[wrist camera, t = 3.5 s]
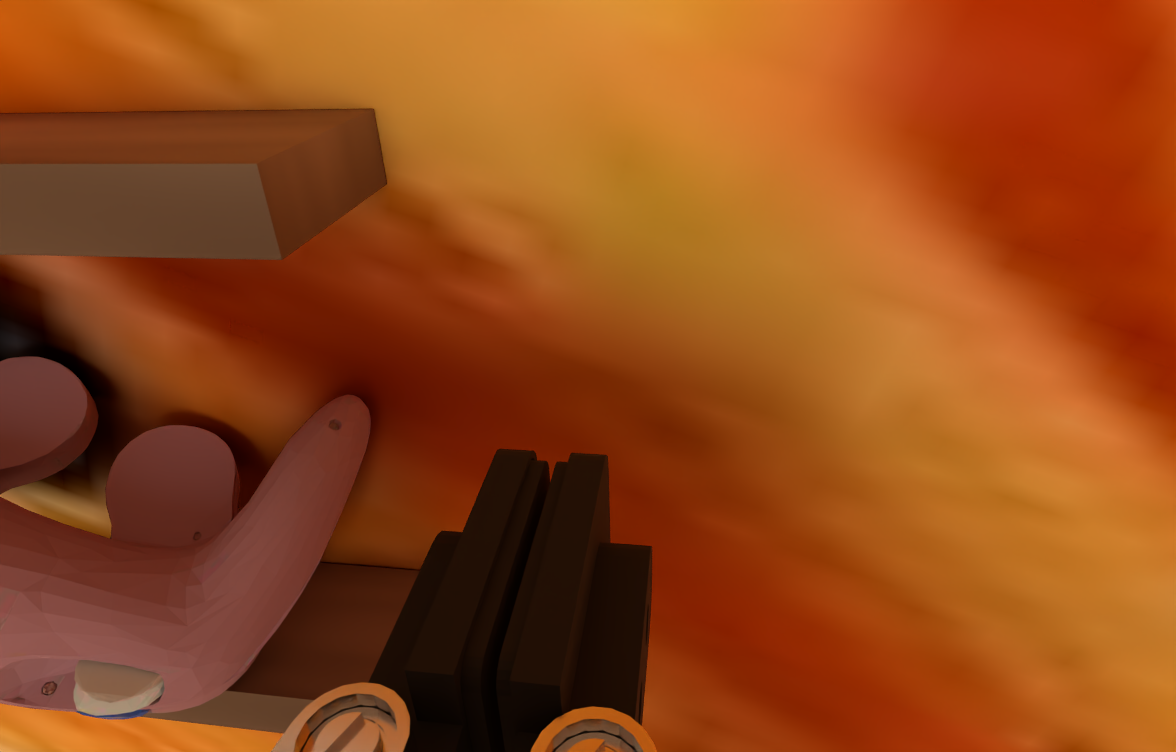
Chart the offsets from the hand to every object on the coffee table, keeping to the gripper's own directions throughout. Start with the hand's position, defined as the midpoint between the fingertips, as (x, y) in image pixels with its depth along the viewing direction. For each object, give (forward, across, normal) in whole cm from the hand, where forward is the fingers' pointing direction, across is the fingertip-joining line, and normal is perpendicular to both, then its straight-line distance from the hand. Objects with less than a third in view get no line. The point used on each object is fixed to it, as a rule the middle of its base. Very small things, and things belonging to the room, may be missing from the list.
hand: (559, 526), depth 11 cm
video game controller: (+4, +10, 0) cm, 10 cm away
